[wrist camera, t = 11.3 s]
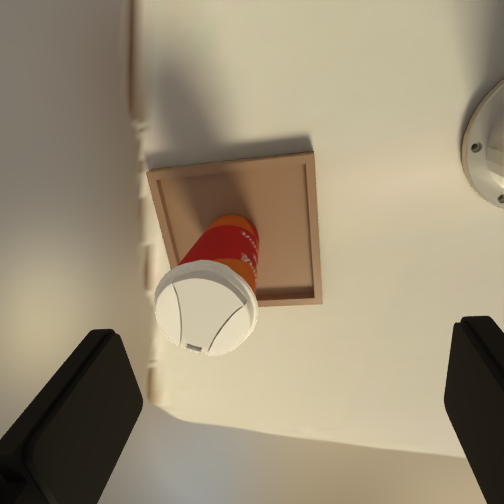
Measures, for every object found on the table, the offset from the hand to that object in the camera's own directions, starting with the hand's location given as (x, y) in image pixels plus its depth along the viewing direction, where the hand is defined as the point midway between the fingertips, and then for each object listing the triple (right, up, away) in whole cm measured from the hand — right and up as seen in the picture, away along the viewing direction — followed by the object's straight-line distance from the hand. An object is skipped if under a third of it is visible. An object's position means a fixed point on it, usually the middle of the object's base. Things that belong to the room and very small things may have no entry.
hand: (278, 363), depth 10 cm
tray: (-2, +5, +27) cm, 28 cm away
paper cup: (-3, +5, +27) cm, 28 cm away
